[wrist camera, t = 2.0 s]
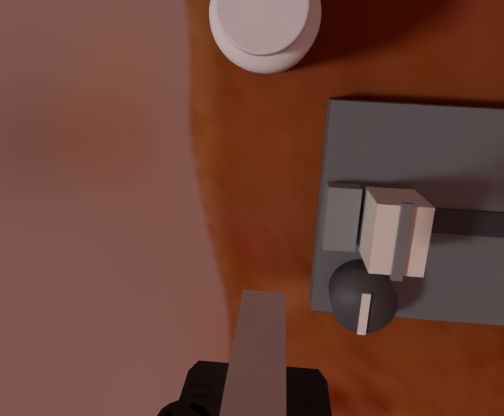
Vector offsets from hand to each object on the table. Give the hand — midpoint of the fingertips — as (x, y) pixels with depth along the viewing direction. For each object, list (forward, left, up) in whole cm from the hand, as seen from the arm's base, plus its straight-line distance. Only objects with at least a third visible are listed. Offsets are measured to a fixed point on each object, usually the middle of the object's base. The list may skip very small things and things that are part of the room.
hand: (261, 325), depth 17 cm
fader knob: (0, +7, -13) cm, 15 cm away
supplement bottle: (-11, -1, -16) cm, 20 cm away
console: (0, +15, -16) cm, 22 cm away
